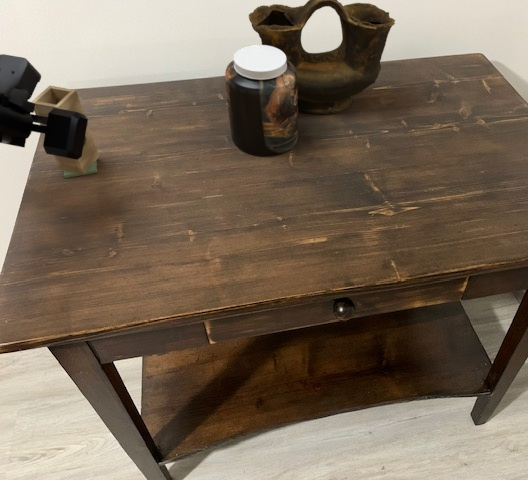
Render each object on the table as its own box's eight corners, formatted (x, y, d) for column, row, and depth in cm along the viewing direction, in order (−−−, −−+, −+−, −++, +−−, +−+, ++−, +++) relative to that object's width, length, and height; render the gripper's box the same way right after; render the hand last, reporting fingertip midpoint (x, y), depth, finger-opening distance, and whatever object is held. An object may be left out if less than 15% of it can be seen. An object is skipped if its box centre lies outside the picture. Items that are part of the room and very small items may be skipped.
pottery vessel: (257, 121, 97) (249, 14, 82) (253, 89, 104) (245, -15, 90) (390, 113, 100) (405, 8, 85) (377, 82, 107) (390, -20, 92)
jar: (226, 155, 90) (215, 75, 79) (236, 115, 98) (228, 37, 87) (295, 158, 90) (294, 79, 79) (300, 118, 98) (300, 41, 87)
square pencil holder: (84, 174, 85) (57, 107, 76) (59, 169, 86) (30, 102, 76) (99, 156, 88) (76, 89, 79) (75, 151, 89) (49, 85, 80)
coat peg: (64, 178, 85) (57, 161, 83) (64, 159, 88) (57, 142, 86) (97, 172, 86) (90, 155, 84) (96, 154, 90) (89, 137, 87)
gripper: (55, 59, 63) (123, 92, 79) (-80, 37, 66) (11, 73, 81) (39, 151, 64) (110, 166, 79) (-94, 125, 66) (0, 145, 82)
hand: (57, 135), depth 80 cm, fingers open, 9 cm apart
